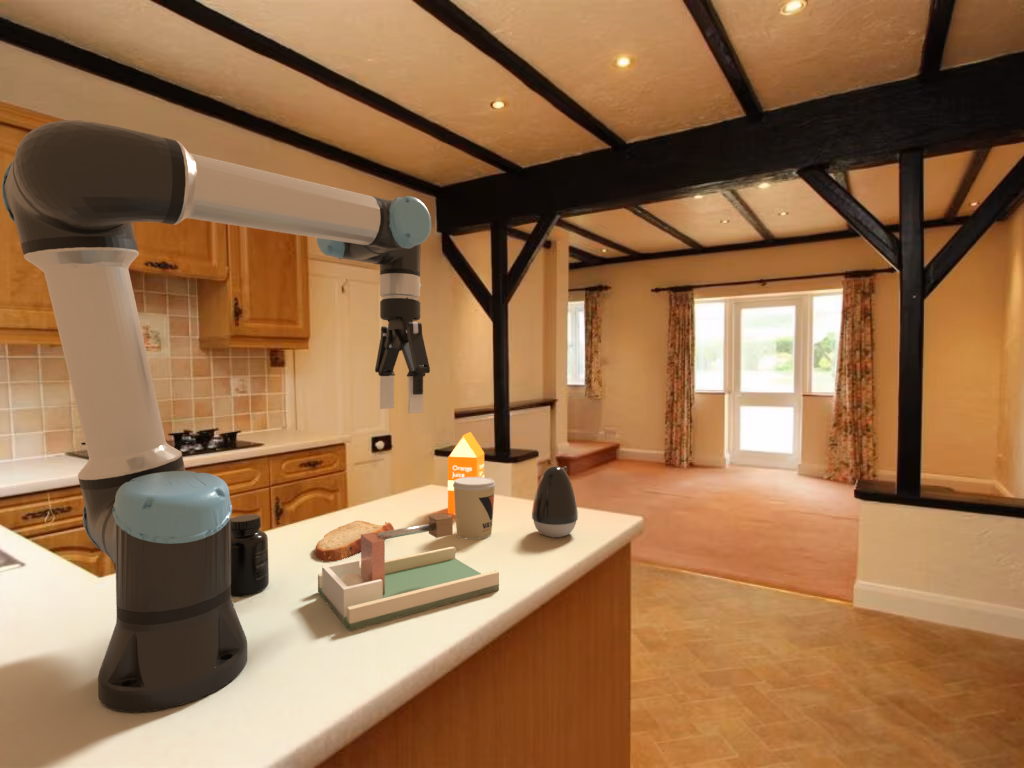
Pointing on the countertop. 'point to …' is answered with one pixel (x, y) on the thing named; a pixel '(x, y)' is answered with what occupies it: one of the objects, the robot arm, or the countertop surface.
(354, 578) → the ball
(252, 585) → the supplement bottle
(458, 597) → the pitch
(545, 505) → the dark grey egg shape
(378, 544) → the rod
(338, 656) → the countertop surface
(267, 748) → the countertop surface
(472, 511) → the coffee cup
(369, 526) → the slice of bread
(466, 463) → the orange juice
